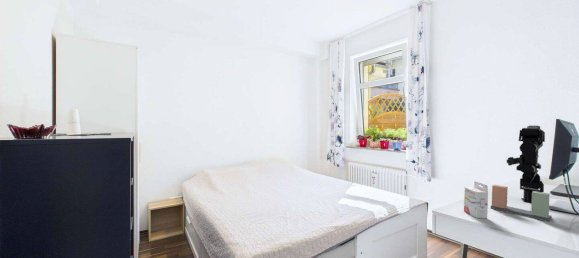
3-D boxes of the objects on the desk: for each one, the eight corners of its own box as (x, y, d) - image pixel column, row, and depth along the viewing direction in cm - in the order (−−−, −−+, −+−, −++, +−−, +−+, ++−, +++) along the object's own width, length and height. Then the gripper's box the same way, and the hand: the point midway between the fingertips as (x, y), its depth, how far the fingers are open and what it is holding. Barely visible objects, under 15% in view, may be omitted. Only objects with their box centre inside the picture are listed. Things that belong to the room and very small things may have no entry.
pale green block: (533, 212, 111) (534, 190, 111) (549, 215, 107) (549, 193, 107) (531, 214, 109) (532, 192, 109) (547, 218, 105) (548, 194, 105)
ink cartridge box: (463, 211, 116) (463, 180, 115) (473, 211, 116) (474, 180, 115) (476, 218, 107) (477, 185, 107) (488, 218, 107) (489, 185, 107)
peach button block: (494, 204, 123) (494, 184, 123) (507, 206, 119) (508, 186, 118) (491, 205, 120) (492, 185, 120) (504, 208, 116) (505, 187, 116)
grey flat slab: (494, 205, 125) (494, 203, 125) (551, 218, 109) (551, 215, 109) (490, 208, 121) (490, 205, 121) (549, 221, 105) (549, 218, 105)
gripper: (513, 150, 134) (511, 178, 135) (503, 152, 123) (502, 183, 124) (541, 152, 125) (540, 182, 126) (534, 154, 114) (533, 187, 115)
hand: (528, 183), depth 123 cm, fingers closed
